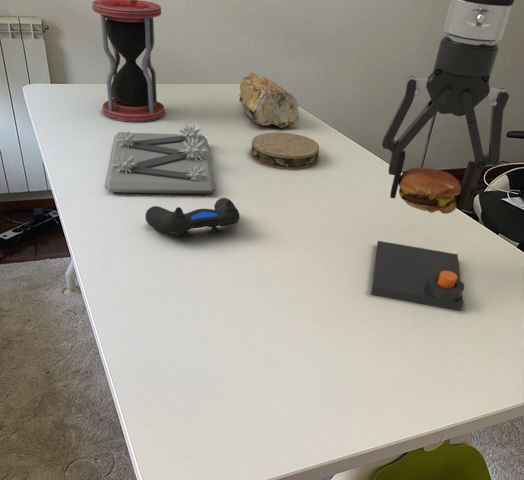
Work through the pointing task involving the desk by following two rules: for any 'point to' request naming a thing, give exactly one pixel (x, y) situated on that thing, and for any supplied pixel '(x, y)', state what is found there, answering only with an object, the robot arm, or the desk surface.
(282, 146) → the wood log slice
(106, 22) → the hourglass
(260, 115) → the petrified wood
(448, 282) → the button
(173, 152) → the decorative plate
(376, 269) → the scale
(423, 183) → the burger
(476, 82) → the robot arm
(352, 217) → the desk surface
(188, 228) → the gaming controller
